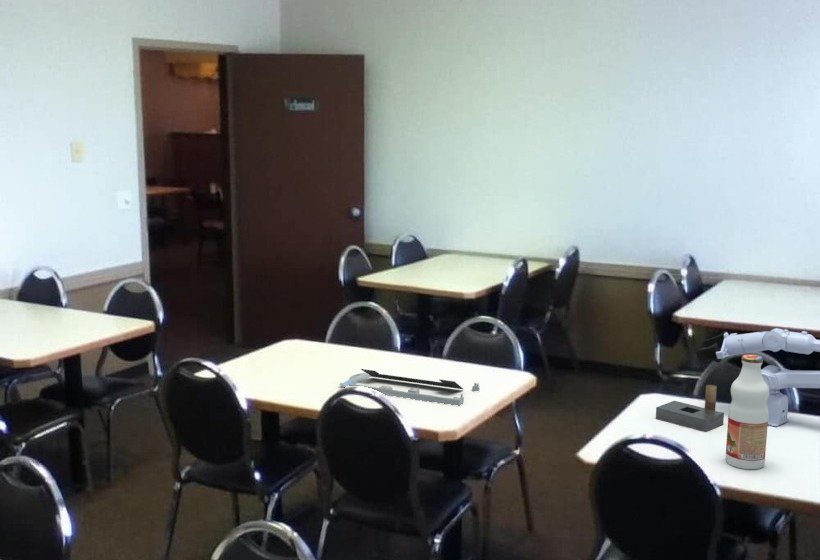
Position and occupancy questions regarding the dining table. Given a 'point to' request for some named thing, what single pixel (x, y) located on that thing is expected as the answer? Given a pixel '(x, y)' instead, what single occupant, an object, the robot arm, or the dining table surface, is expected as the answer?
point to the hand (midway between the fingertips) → (701, 349)
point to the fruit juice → (748, 416)
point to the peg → (710, 397)
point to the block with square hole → (690, 416)
